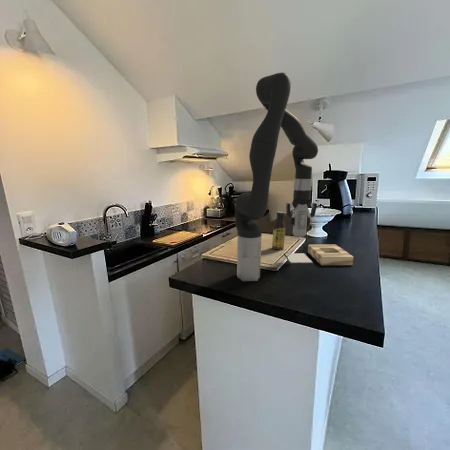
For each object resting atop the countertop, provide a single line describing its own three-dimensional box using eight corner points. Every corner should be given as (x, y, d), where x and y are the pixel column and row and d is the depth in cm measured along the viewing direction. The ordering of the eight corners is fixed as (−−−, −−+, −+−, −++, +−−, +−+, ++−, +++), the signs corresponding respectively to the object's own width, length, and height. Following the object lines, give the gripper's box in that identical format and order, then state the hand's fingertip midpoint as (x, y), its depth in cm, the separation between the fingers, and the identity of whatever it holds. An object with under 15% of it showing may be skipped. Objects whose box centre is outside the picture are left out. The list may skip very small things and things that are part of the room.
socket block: (352, 265, 116) (353, 256, 115) (321, 265, 116) (322, 256, 115) (334, 251, 133) (335, 244, 133) (307, 252, 133) (308, 244, 132)
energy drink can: (302, 233, 125) (304, 202, 121) (308, 237, 119) (310, 204, 116) (290, 234, 124) (292, 203, 121) (295, 237, 118) (297, 205, 115)
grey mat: (312, 262, 118) (312, 262, 118) (290, 263, 118) (290, 262, 118) (303, 254, 130) (304, 253, 130) (284, 254, 130) (284, 253, 130)
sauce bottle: (275, 251, 135) (276, 213, 130) (269, 247, 141) (271, 211, 136) (286, 249, 136) (288, 212, 132) (280, 246, 142) (282, 210, 138)
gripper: (288, 189, 113) (286, 227, 116) (321, 189, 113) (318, 227, 117) (284, 188, 120) (282, 223, 124) (315, 188, 120) (312, 223, 124)
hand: (299, 225), depth 120 cm, fingers closed on energy drink can, 6 cm apart
